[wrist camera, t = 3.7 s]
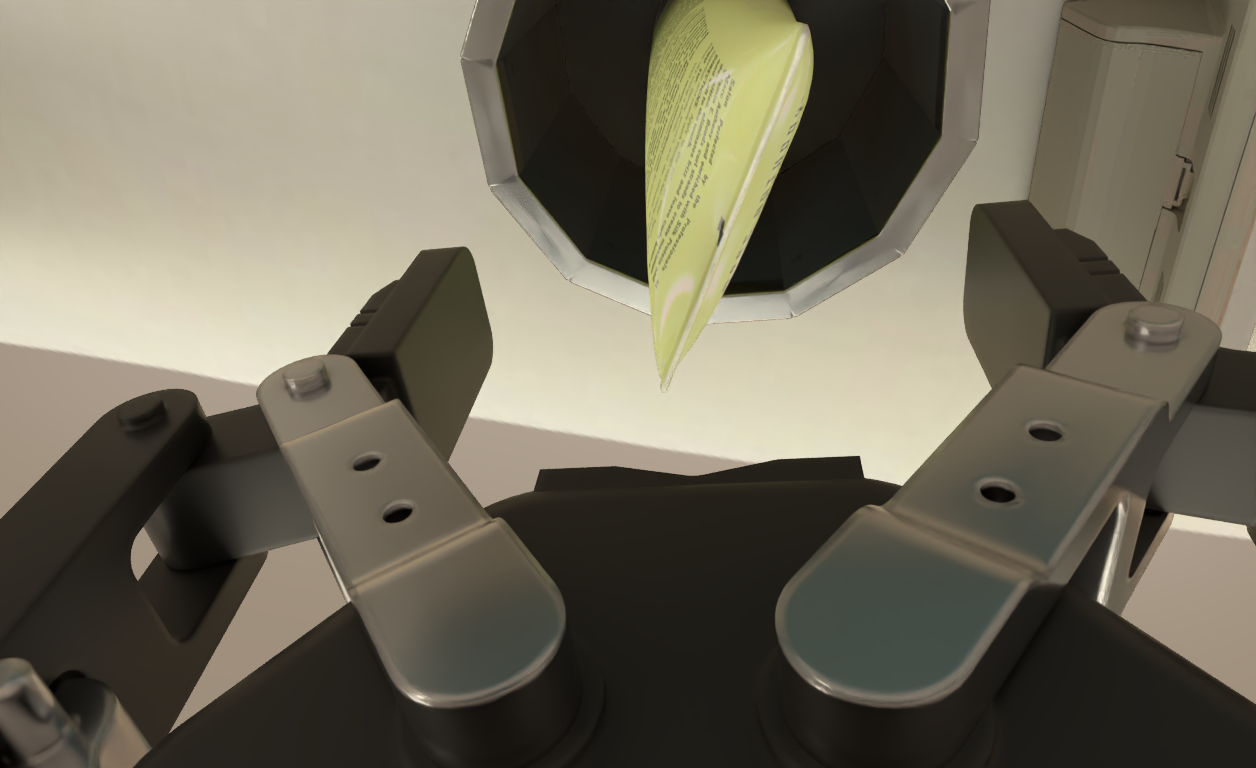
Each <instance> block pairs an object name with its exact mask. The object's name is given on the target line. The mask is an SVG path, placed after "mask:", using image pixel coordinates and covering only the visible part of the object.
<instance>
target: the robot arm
mask: <svg viewBox="0 0 1256 768" xmlns="http://www.w3.org/2000/svg"><path fill="white" fill-rule="evenodd" d="M963 312H964V323H965V329H966V333H967V336H968V339H969V341H970V343H971V345H972V347H973V349H974V351H975V354H976V356H977V358H978V360H979V362H980V364H981V366H982V368H983V370H984V372H985V375H986V377H987V379H988V381H989V383H990V385H991V387H992V390H991V391H990V392H989V393H988V394H987V395H986V396H985V397H984V398H983V399H982V400H981V401H980V403H979V404H978V405H977V406H976V407H975V408H974V409H973V410H972V411H971V412H970V413H969V414H968V416H967V417H966V418H965V419H964V420H963V421H962V422H961V423H960V424H959V425H958V426H957V427H956V429H955V430H954V431H953V432H952V433H951V434H950V435H949V436H948V437H947V438H946V439H945V440H944V442H943V443H942V444H941V445H940V446H939V447H938V448H937V449H936V450H935V451H934V452H933V453H932V455H931V456H930V457H929V458H928V459H927V460H926V461H925V462H924V463H923V464H922V465H921V466H920V468H919V469H918V470H917V471H916V472H915V473H914V474H913V475H912V476H911V477H910V478H909V479H908V481H907V482H906V483H905V484H904V485H903V486H900V485H897V484H893V483H888V482H884V481H879V480H874V479H868V478H864V474H863V470H862V465H861V460H860V456H846V457H823V458H799V459H777V460H772V461H768V462H763V463H758V464H753V465H748V466H744V467H739V468H734V469H729V470H724V471H719V472H715V473H710V474H705V475H699V476H686V475H678V474H670V473H662V472H655V471H647V470H640V469H632V468H624V467H617V466H611V467H588V468H564V469H543V470H542V469H541V470H540V471H539V475H538V478H537V482H536V485H535V488H534V491H532V492H527V493H523V494H520V495H517V496H513V497H510V498H507V499H504V500H502V501H499V502H496V503H494V504H492V505H490V506H487V507H485V508H483V507H482V506H481V505H480V503H479V502H478V501H477V500H476V498H475V497H474V496H473V494H472V493H471V492H470V490H469V489H468V488H467V486H466V485H465V484H464V483H463V481H462V480H461V479H460V478H459V476H458V475H457V473H456V472H455V471H454V470H453V468H452V467H451V466H450V464H449V463H448V461H449V458H450V456H451V454H452V452H453V449H454V447H455V445H456V443H457V440H458V438H459V436H460V434H461V431H462V429H463V427H464V424H465V422H466V420H467V418H468V416H469V414H470V411H471V409H472V407H473V405H474V402H475V400H476V398H477V396H478V393H479V391H480V389H481V387H482V384H483V382H484V380H485V378H486V375H487V373H488V371H489V369H490V366H491V363H492V357H493V339H492V332H491V327H490V323H489V319H488V315H487V311H486V307H485V303H484V299H483V295H482V291H481V287H480V282H479V278H478V274H477V270H476V266H475V262H474V259H473V256H472V254H471V252H470V251H469V249H468V248H467V247H454V248H442V249H430V250H422V251H421V252H420V253H419V254H418V255H417V257H416V258H415V260H414V261H413V262H412V264H411V265H410V266H409V268H408V269H407V270H406V272H405V273H404V275H403V276H402V277H401V279H400V280H395V281H393V282H392V283H390V284H389V285H387V286H386V287H384V288H383V289H381V290H380V291H378V292H377V293H375V294H374V295H372V296H371V298H370V299H369V300H368V302H367V303H366V304H365V306H364V307H363V308H362V309H361V311H360V313H361V314H358V315H357V316H356V317H355V318H354V320H353V321H352V322H351V324H350V325H351V327H348V328H347V329H346V330H345V331H344V333H343V334H342V335H341V337H340V338H339V339H338V341H337V342H336V343H335V344H334V346H333V347H332V348H331V350H330V351H329V352H328V354H327V355H319V356H313V357H309V358H305V359H302V360H299V361H296V362H293V363H291V364H288V365H286V366H284V367H282V368H280V369H278V370H277V371H275V372H273V373H272V374H271V375H269V376H268V377H267V378H266V379H265V380H264V381H263V382H262V383H261V384H260V385H259V387H258V389H257V392H256V397H257V400H258V402H259V404H258V405H254V406H251V407H246V408H243V409H238V410H234V411H229V412H226V413H221V414H217V415H213V416H208V417H206V415H205V413H204V411H203V409H202V407H201V405H200V403H199V401H198V398H197V396H196V395H195V394H194V393H193V392H191V391H188V390H184V389H168V390H161V391H156V392H152V393H148V394H145V395H142V396H139V397H136V398H134V399H131V400H129V401H127V402H125V403H123V404H121V405H119V406H117V407H115V408H114V409H112V410H110V411H109V412H108V413H106V414H105V415H103V416H102V417H101V418H100V419H99V420H98V421H97V422H96V423H95V424H94V425H93V426H92V427H91V428H90V429H89V430H88V431H87V432H86V433H85V434H84V435H83V436H82V437H81V438H80V439H79V440H78V441H77V442H76V443H75V444H74V445H73V446H72V447H71V448H70V449H69V450H68V451H67V452H66V453H65V454H64V455H63V456H62V457H61V458H60V459H59V460H58V461H57V462H56V463H55V464H54V465H53V466H52V467H51V468H50V469H49V471H47V472H46V473H45V474H44V476H42V478H41V479H40V480H39V481H38V482H37V483H36V484H35V485H34V486H33V487H32V488H31V489H30V490H29V491H28V492H27V493H26V494H25V495H24V496H23V497H22V498H21V499H20V500H19V501H18V502H17V503H16V504H15V505H14V506H13V507H12V508H11V509H10V510H9V511H8V512H7V513H6V514H5V515H4V516H3V517H2V518H1V519H0V768H1256V704H1254V703H1253V702H1251V701H1250V700H1248V699H1247V698H1245V697H1244V696H1242V695H1240V694H1239V693H1238V692H1236V691H1234V690H1233V689H1231V688H1230V687H1228V686H1226V685H1225V684H1224V683H1222V682H1221V681H1219V680H1218V679H1216V678H1214V677H1213V676H1211V675H1210V674H1208V673H1207V672H1205V671H1204V670H1202V669H1201V668H1199V667H1197V666H1196V665H1194V664H1193V663H1191V662H1190V661H1188V660H1186V659H1185V658H1184V657H1182V656H1180V655H1179V654H1177V653H1176V652H1174V651H1173V650H1171V649H1169V648H1168V647H1167V646H1165V645H1164V644H1162V643H1160V642H1159V641H1157V640H1156V639H1154V638H1153V637H1151V636H1150V635H1148V634H1147V633H1145V632H1143V631H1142V630H1141V629H1139V628H1137V627H1136V626H1134V625H1133V624H1131V623H1129V622H1128V621H1127V620H1125V619H1124V618H1122V617H1121V614H1122V612H1123V610H1124V608H1125V606H1126V604H1127V602H1128V600H1129V599H1130V597H1131V595H1132V593H1133V592H1134V590H1135V588H1136V586H1137V584H1138V583H1139V581H1140V579H1141V577H1142V575H1143V574H1144V572H1145V570H1146V568H1147V566H1148V565H1149V563H1150V561H1151V559H1152V557H1153V556H1154V554H1155V552H1156V550H1157V548H1158V547H1159V545H1160V543H1161V541H1162V539H1163V538H1164V536H1165V534H1166V532H1167V530H1168V529H1169V527H1170V525H1171V523H1172V520H1173V517H1174V513H1175V514H1181V515H1187V516H1193V517H1199V518H1205V519H1211V520H1217V521H1223V522H1229V523H1235V524H1241V525H1246V526H1247V531H1248V533H1249V535H1250V537H1251V539H1252V540H1253V542H1254V543H1255V545H1256V352H1250V351H1242V350H1234V349H1229V348H1224V347H1220V345H1221V341H1222V332H1221V330H1220V328H1219V327H1218V325H1217V324H1216V323H1215V322H1213V321H1212V320H1211V319H1209V318H1208V317H1206V316H1204V315H1202V314H1201V313H1198V312H1196V311H1193V310H1191V309H1187V308H1184V307H1181V306H1177V305H1172V304H1167V303H1161V302H1150V301H1147V300H1146V299H1145V297H1144V296H1143V295H1142V294H1141V293H1140V292H1139V291H1138V290H1137V289H1136V287H1135V286H1134V285H1133V284H1132V283H1131V282H1130V281H1129V280H1128V278H1127V277H1126V276H1125V275H1124V274H1123V273H1122V274H1120V270H1119V268H1118V267H1117V266H1116V265H1115V264H1114V263H1113V262H1112V261H1111V260H1108V256H1107V255H1106V254H1105V253H1104V252H1103V251H1102V249H1101V248H1100V247H1099V246H1098V245H1097V244H1096V243H1095V242H1094V241H1093V240H1091V239H1088V238H1086V237H1084V236H1082V235H1080V234H1078V233H1076V232H1073V231H1071V230H1069V229H1067V228H1063V229H1052V227H1051V226H1050V225H1049V224H1048V223H1047V221H1046V220H1045V219H1044V218H1043V216H1042V215H1041V214H1040V213H1039V212H1038V210H1037V209H1036V208H1035V207H1034V205H1033V204H1032V203H1031V202H1030V201H1029V200H1021V201H1009V202H997V203H985V204H977V205H975V207H974V208H973V211H972V215H971V220H970V230H969V241H968V253H967V264H966V276H965V287H964V300H963ZM143 527H144V528H145V530H146V532H147V534H148V535H149V537H150V539H151V541H152V542H153V544H154V546H155V548H156V550H157V551H158V554H157V555H156V557H155V558H154V559H153V561H152V562H151V564H150V565H149V566H148V568H147V569H146V571H145V572H144V574H143V575H142V576H141V578H140V579H139V580H138V581H137V579H136V578H135V576H134V574H133V571H132V567H131V549H132V545H133V542H134V539H135V537H136V536H137V534H138V533H139V531H140V530H141V529H142V528H143ZM314 538H317V539H318V542H319V544H320V546H321V549H322V551H323V553H324V555H325V557H326V560H327V562H328V564H329V566H330V568H331V571H332V572H333V575H334V577H335V579H336V582H337V584H338V586H339V588H340V590H341V592H342V595H343V597H344V599H345V601H346V603H347V604H346V605H345V606H343V607H342V608H340V609H339V610H338V611H336V612H335V613H334V614H332V615H331V616H329V617H328V618H327V619H325V620H324V621H322V622H321V623H320V624H318V625H317V626H316V627H314V628H313V629H312V630H310V631H309V632H307V633H306V634H305V635H303V636H302V637H301V638H299V639H298V640H297V641H295V642H294V643H292V644H291V645H290V646H288V647H287V648H286V649H284V650H283V651H281V652H280V653H279V654H277V655H276V656H274V657H273V658H272V659H270V660H269V661H268V662H266V663H265V664H263V665H262V666H261V667H259V668H258V669H257V670H255V671H254V672H252V673H251V674H250V675H248V676H247V677H246V678H244V679H243V680H241V681H240V682H239V683H237V684H236V685H235V686H233V687H232V688H231V689H229V690H228V691H226V692H225V693H224V694H222V695H221V696H219V697H218V698H217V699H215V700H214V701H213V702H212V703H210V704H208V705H207V706H206V707H205V708H203V709H202V710H200V711H199V712H197V713H196V714H195V715H193V716H192V717H191V718H189V719H188V720H187V721H185V722H184V723H182V724H181V725H180V726H178V727H177V728H176V729H174V730H173V731H172V732H171V733H169V732H170V730H171V728H172V727H173V725H174V723H175V721H176V720H177V718H178V716H179V714H180V712H181V710H182V708H183V707H184V705H185V703H186V702H187V700H188V698H189V696H190V694H191V692H192V691H193V689H194V687H195V686H196V684H197V682H198V680H199V678H200V677H201V675H202V673H203V671H204V669H205V668H206V666H207V664H208V662H209V660H210V659H211V657H212V655H213V653H214V652H215V650H216V648H217V646H218V644H219V643H220V641H221V639H222V637H223V635H224V634H225V632H226V630H227V628H228V626H229V624H230V623H231V621H232V619H233V617H234V616H235V614H236V612H237V610H238V608H239V607H240V605H241V603H242V601H243V600H244V598H245V596H246V594H247V592H248V591H249V589H250V587H251V585H252V583H253V582H254V580H255V578H256V576H257V574H258V573H259V571H260V569H261V567H262V566H263V564H264V562H265V560H266V558H267V554H268V551H269V550H272V549H276V548H280V547H284V546H288V545H291V544H296V543H299V542H303V541H307V540H311V539H314Z"/></svg>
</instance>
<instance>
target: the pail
mask: <svg viewBox="0 0 1256 768" xmlns="http://www.w3.org/2000/svg"><path fill="white" fill-rule="evenodd" d="M556 3H557V0H476V3H475V6H474V10H473V13H472V17H471V20H470V24H469V27H468V31H467V34H466V37H465V41H464V44H463V48H462V51H461V57H462V59H461V65H462V69H463V74H464V78H465V83H466V87H467V92H468V96H469V101H470V105H471V110H472V114H473V119H474V123H475V128H476V132H477V137H478V141H479V146H480V150H481V155H482V159H483V164H484V168H485V173H486V177H487V182H488V185H489V186H490V187H491V188H490V190H491V191H492V192H493V194H494V195H495V196H496V197H497V198H498V200H499V201H500V202H501V203H502V204H503V205H504V207H505V208H506V209H507V210H508V211H509V213H510V214H511V215H512V216H513V217H514V218H515V220H516V221H517V222H518V223H519V224H520V226H521V227H522V228H523V229H524V230H525V231H526V233H527V234H528V235H529V236H530V237H531V239H532V240H533V241H534V242H535V243H536V244H537V246H538V247H539V248H540V249H541V250H542V251H543V253H544V254H545V255H546V256H547V257H548V259H549V260H550V261H551V262H552V263H553V264H554V266H555V267H556V268H557V269H558V270H559V272H560V273H561V274H562V275H563V276H564V277H565V279H566V280H569V279H570V282H571V283H574V284H576V285H578V286H581V287H583V288H586V289H588V290H590V291H593V292H595V293H598V294H600V295H602V296H605V297H607V298H610V299H612V300H614V301H617V302H619V303H622V304H624V305H626V306H629V307H631V308H634V309H636V310H638V311H641V312H643V313H646V314H648V315H650V316H651V307H650V295H649V280H648V265H647V224H646V190H645V168H644V167H642V166H639V165H637V164H635V163H632V162H630V161H628V160H626V159H623V158H621V157H619V155H618V154H617V153H616V151H615V150H614V149H613V147H612V146H611V145H610V143H609V142H608V141H607V139H606V138H605V137H604V135H603V134H602V133H601V131H600V130H599V129H598V128H597V126H596V125H595V124H594V122H593V121H592V120H591V118H590V117H589V116H588V114H587V113H586V112H585V110H584V109H583V108H582V106H581V105H580V104H579V103H578V101H577V100H576V99H575V97H574V96H573V95H572V93H571V92H570V88H569V82H568V76H567V69H566V63H565V57H564V51H563V45H562V38H561V32H560V26H559V20H558V13H557V7H556ZM989 12H990V0H886V15H885V50H884V58H883V60H882V62H881V63H880V65H879V67H878V69H877V71H876V72H875V74H874V76H873V78H872V79H871V81H870V83H869V85H868V86H867V88H866V90H865V92H864V94H863V95H862V97H861V99H860V101H859V102H858V104H857V106H856V108H855V110H854V111H853V113H852V115H851V117H850V118H849V120H848V122H847V124H846V125H845V127H844V129H843V131H842V133H841V134H840V136H838V137H837V138H835V139H834V140H832V141H831V142H829V143H828V144H826V145H825V146H823V147H822V148H820V149H819V150H817V151H815V152H814V153H812V154H811V155H809V156H808V157H806V158H805V159H803V160H802V161H800V162H799V163H797V164H796V165H794V166H793V167H791V168H790V169H788V170H787V171H785V172H784V173H782V174H781V175H779V176H777V177H776V178H775V181H774V183H773V185H772V188H771V190H770V193H769V195H768V197H767V200H766V202H765V204H764V207H763V209H762V212H761V214H760V216H759V219H758V221H757V223H756V225H755V228H754V230H753V232H752V234H751V237H750V239H749V241H748V243H747V246H746V248H745V250H744V252H743V254H742V257H741V259H740V261H739V263H738V266H737V268H736V270H735V272H734V274H733V276H732V278H731V280H730V282H729V284H728V286H727V288H726V289H725V291H724V293H723V295H722V297H721V299H720V301H719V303H718V305H717V307H716V308H715V310H714V312H713V314H712V315H711V317H710V319H709V320H708V322H707V323H706V324H716V323H730V322H745V321H760V320H775V319H789V318H792V317H793V316H794V317H797V316H798V315H800V314H802V313H804V312H805V311H807V310H809V309H811V308H812V307H814V306H816V305H817V304H819V303H821V302H823V301H824V300H826V299H828V298H830V297H831V296H833V295H835V294H837V293H838V292H840V291H842V290H843V289H845V288H847V287H849V286H850V285H852V284H854V283H856V282H857V281H859V280H861V279H863V278H864V277H866V276H868V275H869V274H871V273H873V272H875V271H876V270H878V269H880V268H882V267H883V266H885V265H887V264H889V263H890V262H892V261H894V260H895V259H897V258H899V257H900V256H901V254H904V253H905V251H906V250H907V248H908V247H909V245H910V244H911V242H912V241H913V239H914V238H915V236H916V235H917V233H918V232H919V230H920V229H921V227H922V226H923V224H924V223H925V221H926V220H927V218H928V217H929V215H930V213H931V212H932V210H933V209H934V207H935V206H936V204H937V203H938V201H939V200H940V198H941V197H942V195H943V194H944V192H945V191H946V189H947V188H948V186H949V185H950V183H951V182H952V180H953V179H954V177H955V176H956V174H957V173H958V171H959V170H960V168H961V167H962V165H963V164H964V162H965V161H966V159H967V158H968V156H969V154H970V153H971V151H972V150H973V148H974V147H975V145H976V140H978V136H979V125H980V114H981V102H982V91H983V80H984V68H985V57H986V46H987V34H988V23H989Z"/></svg>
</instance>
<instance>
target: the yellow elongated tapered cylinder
mask: <svg viewBox="0 0 1256 768" xmlns="http://www.w3.org/2000/svg"><path fill="white" fill-rule="evenodd" d="M812 75H813V46H812V40H811V34H810V29H809V27H808V25H807V24H804V23H800V22H797V21H796V19H795V17H794V14H793V12H792V9H791V7H790V4H789V2H788V0H661V1H660V4H659V8H658V11H657V16H656V21H655V26H654V33H653V39H652V45H651V53H650V62H649V74H648V88H647V104H646V143H645V190H646V224H647V265H648V280H649V295H650V307H651V319H652V331H653V339H654V347H655V355H656V360H657V365H658V370H659V375H660V378H661V391H662V393H665V392H666V391H667V390H668V387H669V385H670V382H671V379H672V377H673V374H674V372H675V369H676V367H677V365H678V364H679V362H680V361H681V360H682V359H683V357H684V356H685V355H686V353H687V352H688V351H689V349H690V348H691V346H692V345H693V343H694V342H695V340H696V339H697V337H698V336H699V334H700V333H701V331H702V330H703V328H704V327H705V325H706V323H707V322H708V320H709V319H710V317H711V315H712V314H713V312H714V310H715V308H716V307H717V305H718V303H719V301H720V299H721V297H722V295H723V293H724V291H725V289H726V288H727V286H728V284H729V282H730V280H731V278H732V276H733V274H734V272H735V270H736V268H737V266H738V263H739V261H740V259H741V257H742V254H743V252H744V250H745V248H746V246H747V243H748V241H749V239H750V237H751V234H752V232H753V230H754V228H755V225H756V223H757V221H758V219H759V216H760V214H761V212H762V209H763V207H764V204H765V202H766V200H767V197H768V195H769V193H770V190H771V188H772V185H773V183H774V181H775V178H776V176H777V174H778V171H779V169H780V167H781V164H782V162H783V160H784V158H785V155H786V153H787V151H788V148H789V146H790V144H791V142H792V139H793V137H794V135H795V132H796V130H797V128H798V125H799V122H800V119H801V117H802V114H803V111H804V108H805V106H806V103H807V99H808V95H809V90H810V86H811V81H812Z"/></svg>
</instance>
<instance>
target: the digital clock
mask: <svg viewBox="0 0 1256 768" xmlns="http://www.w3.org/2000/svg"><path fill="white" fill-rule="evenodd" d="M1061 17H1062V18H1061V22H1060V27H1059V33H1058V38H1057V44H1056V49H1055V55H1054V61H1053V66H1052V72H1051V77H1050V83H1049V88H1048V94H1047V100H1046V105H1045V111H1044V116H1043V122H1042V127H1041V133H1040V139H1039V144H1038V150H1037V155H1036V161H1035V166H1034V172H1033V178H1032V183H1031V189H1030V194H1029V201H1030V202H1031V203H1032V204H1033V205H1034V207H1035V208H1036V209H1037V210H1038V212H1039V213H1040V214H1041V215H1042V216H1043V218H1044V219H1045V220H1046V221H1047V223H1048V224H1049V225H1050V226H1051V227H1052V229H1063V228H1067V229H1069V230H1071V231H1073V232H1076V233H1078V234H1080V235H1082V236H1084V237H1086V238H1088V239H1091V240H1093V241H1094V242H1095V243H1096V244H1097V245H1098V246H1099V247H1100V248H1101V249H1102V251H1103V252H1104V253H1105V254H1106V255H1107V256H1108V260H1111V261H1112V262H1113V263H1114V264H1115V265H1116V266H1117V267H1118V268H1119V270H1120V274H1122V273H1123V274H1124V275H1125V276H1126V277H1127V278H1128V280H1129V281H1130V282H1131V283H1132V284H1133V285H1134V286H1135V287H1136V289H1137V290H1138V291H1139V292H1140V293H1141V294H1142V295H1143V296H1144V297H1145V299H1146V300H1147V301H1150V302H1161V303H1167V304H1172V305H1177V306H1181V307H1184V308H1187V309H1191V310H1193V311H1196V312H1198V313H1201V314H1202V315H1204V316H1206V317H1208V318H1209V319H1211V320H1212V321H1213V322H1215V323H1216V324H1217V325H1218V327H1219V328H1220V330H1221V332H1222V341H1221V345H1220V347H1224V348H1229V349H1234V350H1242V351H1246V350H1247V347H1248V345H1249V342H1250V339H1251V336H1252V333H1253V331H1254V328H1255V325H1256V0H1082V1H1071V2H1067V3H1065V4H1064V5H1063V10H1062V16H1061Z"/></svg>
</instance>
